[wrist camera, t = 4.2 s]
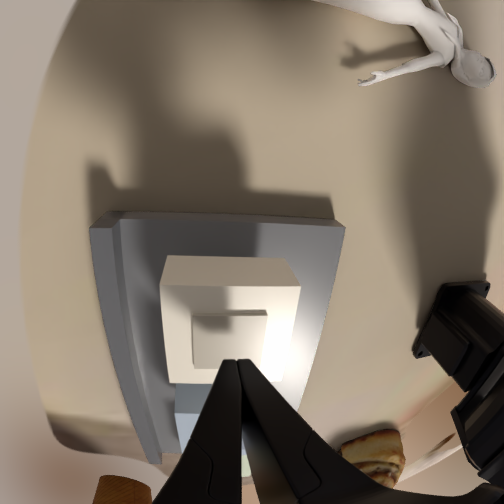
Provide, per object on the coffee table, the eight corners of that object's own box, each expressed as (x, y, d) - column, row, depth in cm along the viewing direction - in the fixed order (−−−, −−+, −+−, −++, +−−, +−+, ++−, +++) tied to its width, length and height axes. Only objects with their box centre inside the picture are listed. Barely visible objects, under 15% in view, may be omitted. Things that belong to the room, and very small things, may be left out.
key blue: (265, 377, 14) (274, 413, 12) (256, 424, 16) (263, 455, 13) (176, 378, 13) (174, 415, 11) (182, 425, 15) (182, 458, 13)
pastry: (402, 414, 24) (435, 469, 17) (393, 459, 31) (413, 499, 23) (283, 462, 24) (300, 526, 17) (306, 493, 31) (320, 537, 23)
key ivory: (284, 258, 11) (302, 288, 9) (270, 346, 13) (282, 383, 11) (167, 255, 11) (158, 287, 8) (172, 346, 12) (169, 385, 10)
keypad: (335, 219, 14) (357, 236, 12) (280, 437, 22) (286, 459, 19) (106, 211, 12) (89, 227, 10) (150, 440, 20) (149, 463, 18)
